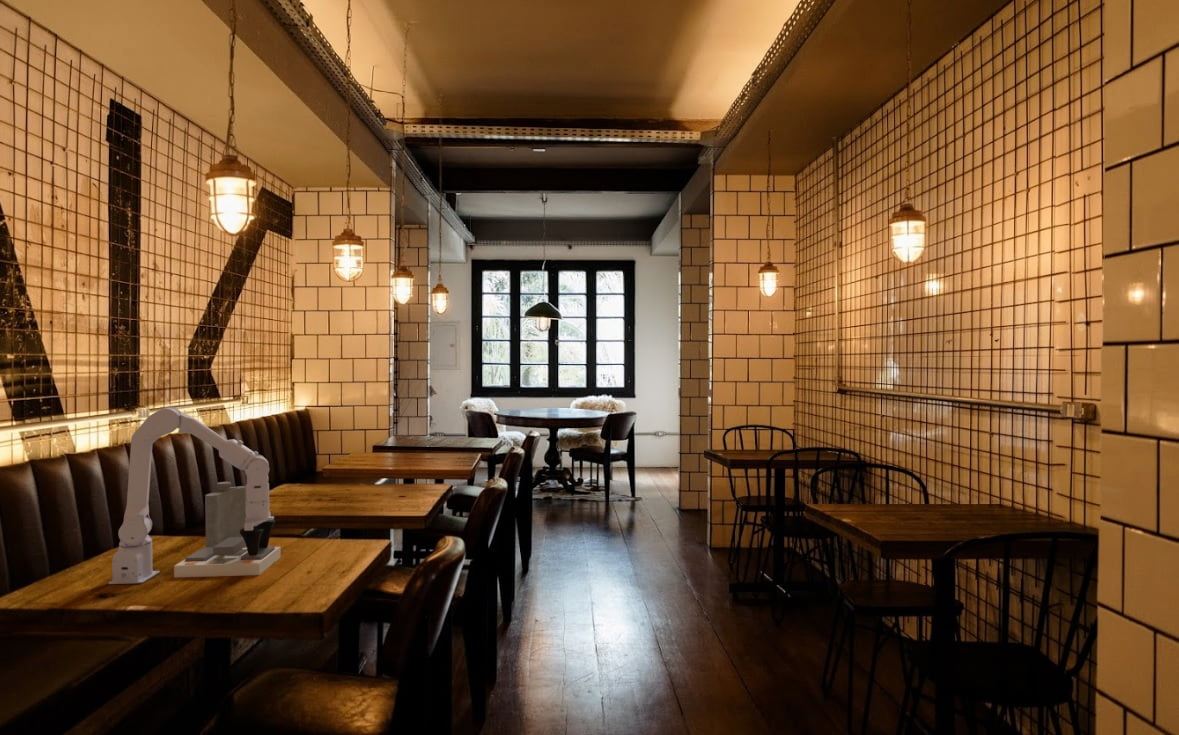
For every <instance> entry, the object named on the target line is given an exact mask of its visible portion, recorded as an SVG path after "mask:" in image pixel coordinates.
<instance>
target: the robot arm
mask: <svg viewBox="0 0 1179 735" xmlns="http://www.w3.org/2000/svg"><path fill="white" fill-rule="evenodd" d="M177 429H178V431H177V433H178V434H190V435H192V436H194V437H196V438H198V439H199V440H201V441H203V442H204V443H206V444H208V445H210V446H212V448H215V449H216V450H217V451H218V456H219V457H220V458H221V459H223V461H226V462H227V463H229V464H230V465H231V466H233V467H235V468H236V469H238V470H240V471H242V470H243V471H244V472H245V475H246V484H245V487H246V523H244V528H242V529H241V530H240V534H241V535H242V537H243V539H244V541H245V543H246V547H245V548H247V551H248V554H249V555H257V554H258V551H259V548H267V547H268V546H269V543H270V539H271V533H272V530H273V528H274V525H275V524H276V520H275V516H274V515H273V516H272V515H271V513H272V512H271V511H270V483H269V481H270V480H269V474H270V473H269V472H270V465H269V464H270V463H269V460H267V458H265V457H264V456H263V455H261V454H259V452H258V451H257V450H255V451H253V450H252V449H250V448H249V447H247V446H246V445H244V441H242V440H241V439H238V440H236V439H234V438H233V439H226V438H224V437H222V436H221V435H220V434H218V433H217V432H215V430H212V429H211V428H210V427H208V426H207V425H206V424H204V423H203V422H201V421H199V420H198V419H196V418H195V417H194V416H191V415H190V414H188V413H187V412H183V411H180V410H179V409H178V408H177V407H174V406H166V407H163V408H161V409H158V410H157V411H155V412H154V413H152V414H150V415H148V416H147V417H146V418H145V420H144V421H143V422H142V423H141V424H140V426H139V427H138V428H137V429H136V430H135V432H133V433H132V435H131V439H130V454H129V469H128V470H129V471H128V484H127V497H126V506H125V507H126V508H125V511H124V514H123V515H124V516H123V522H122V524H121V526H120V527H119V529H118V539H119V540H120V541H119V544H118V550H117V551H116V552H115V553H114V554H113V557H112V558H111V560H112V561H111V563H112V564H111V565H112V568H111V570H112V572H111V574H112V580H110V581H108V584H109V585H118V584H119V585H123V584H126V585H127V584H128V585H129V584H143V583H144V582H147V581H148V580H149V579H151V578H153V577H154V576H157V575H158V574H159V573H160V570H153V568H154V567H153V538H152V537H150V535H149V533H150V532H151V530H152V528H153V520H152V519H151V517H150V508H149V507H150V504H149V500H150V485H151V484H150V483H151V472H152V471H151V469H152V467H151V466H152V457H153V444H154V443H155V442H156V441H157V440H159V439H160V438H161V437H163V436H165V435H168V434H171V433H173V432H175V431H176V430H177Z"/></svg>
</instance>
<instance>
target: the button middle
mask: <svg viewBox="0 0 1179 735" xmlns="http://www.w3.org/2000/svg"><path fill="white" fill-rule="evenodd" d="M243 548H247V547H246V543H245V541H244V539H243V537H229V538H227V539H226V540H224V541H223V542H221V543H219V544H218V545H216V546H214V547H213V556H220V555H234V554H235V553H237V552H238V551H240V550H241V549H243Z"/></svg>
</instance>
